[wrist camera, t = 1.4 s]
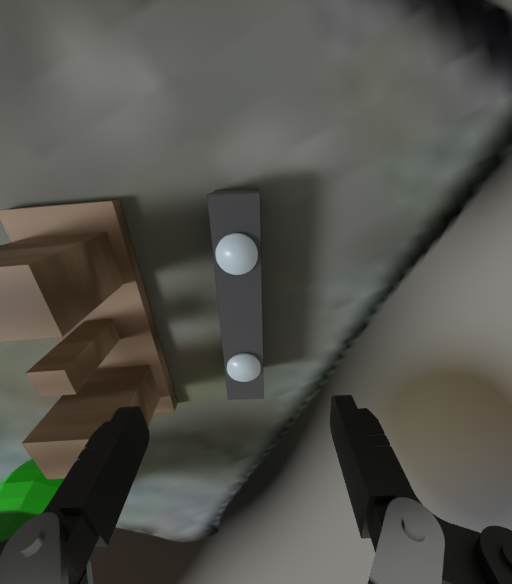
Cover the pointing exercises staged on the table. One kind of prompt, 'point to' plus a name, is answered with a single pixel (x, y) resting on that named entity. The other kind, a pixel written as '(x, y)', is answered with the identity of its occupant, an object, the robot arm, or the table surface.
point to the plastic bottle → (24, 497)
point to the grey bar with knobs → (239, 288)
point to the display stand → (80, 323)
